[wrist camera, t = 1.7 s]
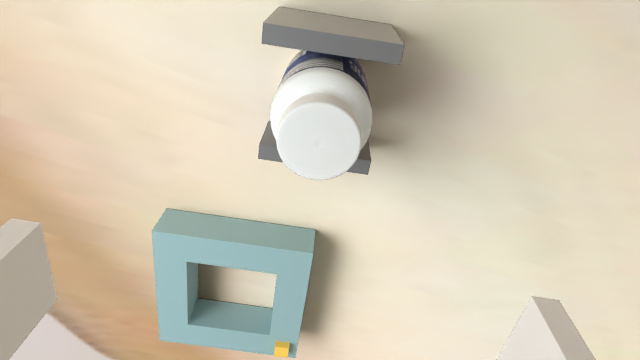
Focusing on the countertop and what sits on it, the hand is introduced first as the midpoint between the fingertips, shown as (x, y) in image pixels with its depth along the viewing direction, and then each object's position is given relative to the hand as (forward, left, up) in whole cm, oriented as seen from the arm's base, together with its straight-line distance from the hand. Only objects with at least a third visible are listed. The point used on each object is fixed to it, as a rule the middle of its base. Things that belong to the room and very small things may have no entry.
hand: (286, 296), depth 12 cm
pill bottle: (-1, 0, -19) cm, 19 cm away
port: (+17, -5, -19) cm, 26 cm away
